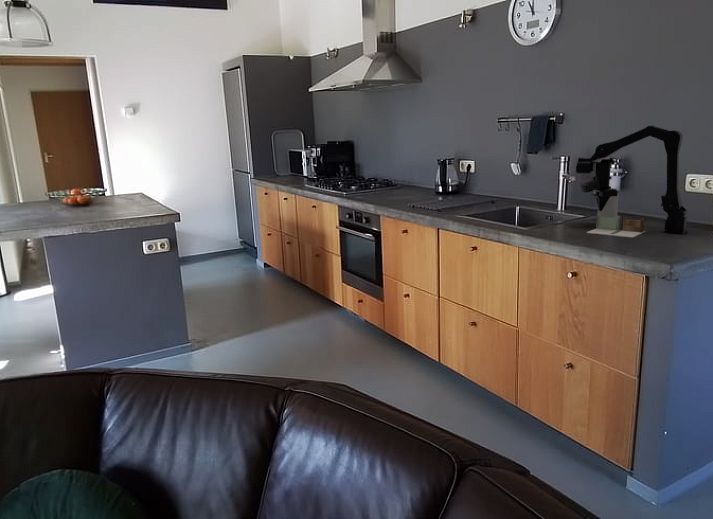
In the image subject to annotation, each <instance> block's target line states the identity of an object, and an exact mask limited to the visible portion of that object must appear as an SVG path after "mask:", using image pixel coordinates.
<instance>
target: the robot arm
mask: <svg viewBox="0 0 713 519" xmlns="http://www.w3.org/2000/svg"><path fill="white" fill-rule="evenodd" d="M648 137H652V138H654V139H657V140H660V141H663V145H664V149H665V150H664V151H665V152H666V192H665V193H664V194H662V195H661V196H660V198H661V205H660V207H662V210H663V211H664V212H665V214H666V213H667V216H666V219H665V221H664V233H668V234H680V235H683V234H685V233H687V231H688V230H687V219H688V216H686V214H687V212H688V210H687V209H686V208H685V206H683V203H682V202H683V201H682V197H681V194H680V191H679V167H680V166H679V155H680V151H681V146H682V142H683V138H684V136H683V134H682V132H681V131H680V130H677V129H676V130H675V129H673V130H668V129H666V128H665V129H664V128H663V127H662V128H661V127H658V126H656V125H652V124H651V125H648V126H646V127H645V128H642V129H640V130H636V132H633V133H631V134H628V135H625V136H624V137H621V138H619V139H617V140H613V141H609V142H605V143H601V144H599V145H597V146H596V148H595V150H594V151H595V152H593V153H594V154H592V155H591V157H578V159H577V162H576V166H575V172H576V174H578V175H582V174H583V175H584V174H585V175H592V173H593V172H595V174H594V176H593V177H592V180H588V181H586V182H583V183H581V184H580V185H579V186H580V190H581V192H582V193H591V192H593V193H591V196H593V197H594V198H595V201H596V205H597V211H598V210H599V211H602V210H603V208H604V206H605V205H606V203H607V201H608V200H609V198H610V197H611V196H618V194H619V191H618V190H617V189H616V188H612V186H610V182H611V181H610V180H612V176H611V168H612V167H611V166H612V164H615V163H617V160H615V159H614V157H613V156H612V155H613V154H615V153H616V152H618V151H620V150H621V149H622V148H624V147H628V146H629V145H632V144H634V143H637V142H640V141H642V140H644V139H646V138H648ZM610 156H612V157H610ZM608 157H609V158H608ZM598 160H600V161H598Z"/></svg>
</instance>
